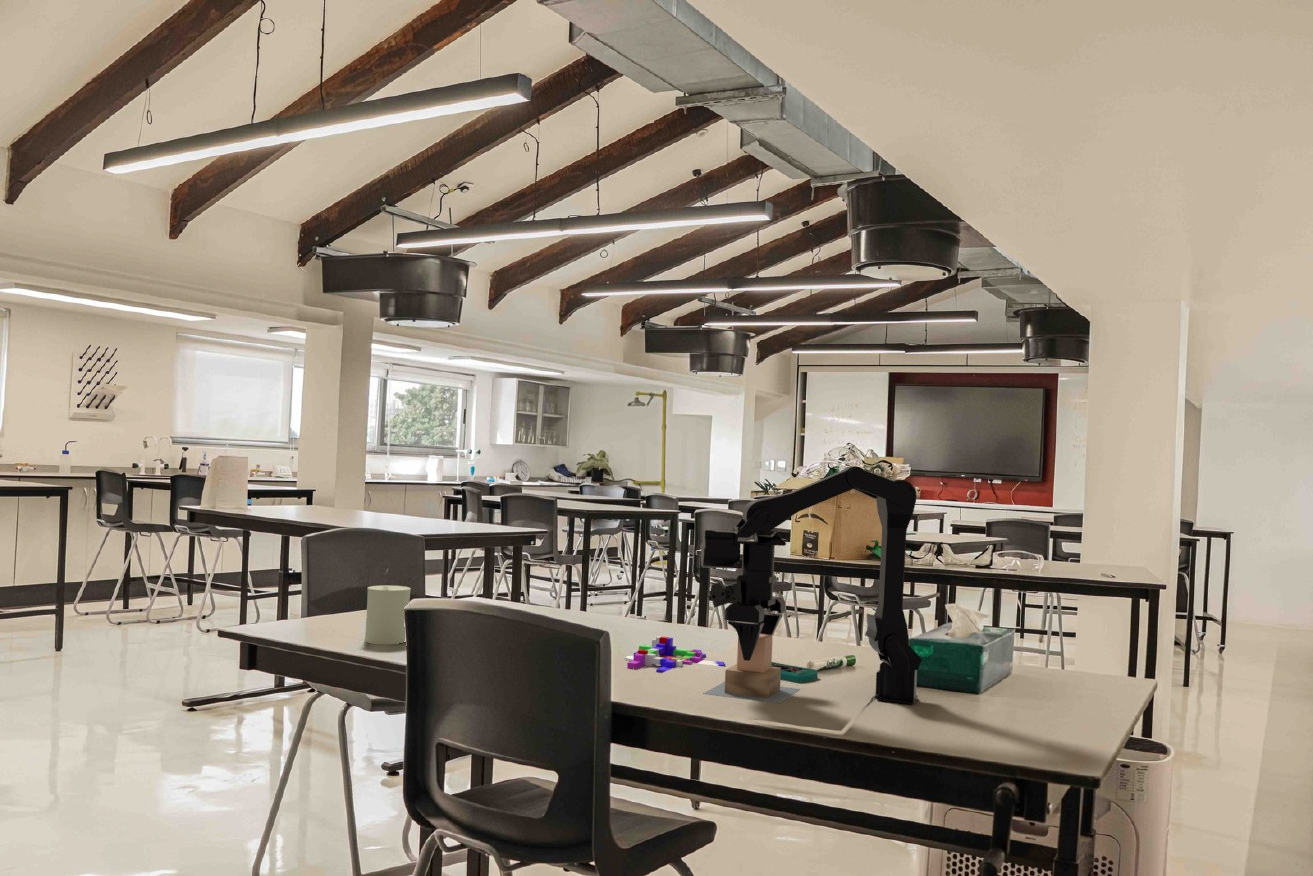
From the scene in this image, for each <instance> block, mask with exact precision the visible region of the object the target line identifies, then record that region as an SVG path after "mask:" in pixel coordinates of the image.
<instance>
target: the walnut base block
mask: <svg viewBox="0 0 1313 876" xmlns="http://www.w3.org/2000/svg"><path fill="white" fill-rule="evenodd" d="M724 676H725V677H724V682H725V693H732V694H740V695H748V696H756V697H764V698H769V697H770V696H772V695H773V694H775V693H776V692H778V691H779V690H780V687H781V679H780V678H781V668H778V667H771V669H769V670H767V671H766V672H764V673H762V672H754V671H745V670H737V663H736V664H734V665H732V666H730V667H728V668H726V669H725V673H724Z"/></svg>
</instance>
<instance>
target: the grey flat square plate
mask: <svg viewBox="0 0 1313 876" xmlns="http://www.w3.org/2000/svg"><path fill="white" fill-rule="evenodd" d="M800 690H801V688H793V687H786V686H780V690H779V691H778V692H776V693H775V694H773V695H772V696H770V697H769V698H764V697H756V696H748V695H740V694H732V693H725V681H722V683H720V684H717V685H715V686H714V687H712V688H711V689H709V690H707V691H705V692H703V693H702V695H709V696H715V697H723V698H725V697H727V698H734V699H740V700H747V701H748V700H749V701H757V702H763V703H772V704H782V703H784V702H785V701H786V700H788V699H789V698H790V697H792V696H794V695H795V694H796V693H797V692H798V691H800Z"/></svg>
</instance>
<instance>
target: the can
mask: <svg viewBox="0 0 1313 876" xmlns="http://www.w3.org/2000/svg"><path fill="white" fill-rule="evenodd" d="M366 590H367V597H366V598H367V599H366V604H367V605H366V618H365V619H366V621H365V633H364V634H365V635H364V640H363V641H364V642H365V643H366V644H370V645H378V646H379V645H380V646H383V645H384V646H392V645H393V644H396V645H400V644H399V643H403V642H404V641H405V627H404V607H405V606H406V605H407V604H408V603H409V602H410V600H411V590H412V588H411V587H410V586H409V587H408V586H403V585H388V584H387V585H383V584H382V585H372V586H368V587H367V589H366ZM409 604H410V603H409ZM403 644H404V643H403Z"/></svg>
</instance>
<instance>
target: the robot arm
mask: <svg viewBox="0 0 1313 876" xmlns="http://www.w3.org/2000/svg"><path fill="white" fill-rule="evenodd" d="M853 490H855V491H857V492H859V493H861V494H864V495H865V496H868V497H870V498H872V499H875V501H876V508H877V514H878V517H879V521H880V526H881V546H880V564H879V584H878V600H877V601H878V602H877V603H878V604H877V606H876V609H875V612H874V614H871V613H867V614H866V622H867V623H866V624H867V627H866V631H865V634H864V635H865V636H866V637H867V638H868V643H869V645H870V647H871V648H872V649H873V650H874V651H875V652H876V653H877V655H878V659H879V660H880V661H881V663H880V664H879V670H878V671H876V675H875V695H876V700H878V701H883V702H884V701H885V702H890V703H899V704H908V705H914V704H915V702H916V701H917V700H918V697H919V695H917V683H918V681H917V680H918V670H919V668H920V665H921V663H922V658H921V656H920V655H919V654H918V653H917V652H916V651H915V650H914V649H913V648H912V647H911V646H910V638H909V630H908V623H907V620H906V615H905V613H904V607H903V604H904V589H905V588H904V587H905V585H904V583H905V571H906V570H905V568H906V567H905V565H906V564H905V563H906V547H907V545H906V544H907V531H908V528H909V525H910V523H911V520H912V518H913V515H914V511H915V507H916V503H917V490H916V488H915V486H914V485H912V483H910V481H907V480H904V479H888V478H886V477H884V476H881V475H878V474H876V473H872V472H869V471H868V470H865V469H863V468H862V467H860V466H856V465H855V466H847V467H845V468H844V469H842V470H841V471H840V470H839V471H838V472H836V473H833V474H831V475H828V476H826V477H823V478H821V479H818V480H817V481H814V482H811V483H809V484H806V485H803V486H802V487H800V488H797V489H795V490H792V491H789V492H787V493H783V494H778V495H772V496H768V497H767V496H766V497H763V498H759V499H754V500H751V501H750V502H748V503H747V504H746V505H745V507H744V508H743V511H742V518H741V519H740V520H739V522H738V523H737V524H736V525H735V526H734V528H733V529H732V530H731V531H721V530H713V529H704V531H703V537H702V546H701V548H700V566H701V568H709V569H711V568H712V569H734V566H735V565H737V564H739V563H740V559H741V557H742V559H741V560H742V563H741V573H740V574H738V576H736V583H733V584H730V585H725V584H724V583H723V582H722V581H720V582H717V583H713V584H711V587H710V590H709V591H708V593H709V595H708V600H709V601H712V605H713V608H718V607H720V606H724V605H727V604H729V605H728V606H726V608H724V620H725V621H726V622H727V624H728V625H730V626H732V628H734V630H735V631H736V632H737V633H736V634H737V636H738V637H739V641H740V646H741V650H742V655H743V659H744V660H746V661H749V660H750V659H751V657H752V654H753V652H754V649H755V646H756V644H757V641H758V638H759V636H760V634H768V635H774V633H775V632H776V629H777V628H778V625H779V623H780V621H781V620H782V618H783V616H784V615H783V613H786V601H785V600H784V598H783V597H781V596H777V595H776V596H775V595H774V582H777V575H774V573H775V572H774V571H775V551H776V550H775V546H779V547H780V546H781V547H785V546H786V545H787V542H786V541H785V540H784V539H782V537H781V536H780V534H779V532H777V531H774V532H773V533H772V534H771V535H764V534H763V533H769V532H771V531H772V530H773V529H775V528H777V527H778V526H780V525H782V524H783V523H784V522H786V521H787V520H788V519H790V518H791V517H793V516H794V515H795V514H797V513H799V512H801V511H803V510H806V509H808V508H811V507H813V506H815V505H816V506H817V505H818V504H821V503H823V502H826V501H827V500H830V499H832V498H836V497H837V496H840V495H842V494H845V493H846V492H849V491H853ZM757 533H761V534H763V535H759V534H757ZM755 534H756V535H755ZM754 535H755V536H754ZM752 536H754V539H751V540H746V539H749V538H750V537H752ZM739 538H742V539H739ZM744 538H745V540H743V539H744ZM741 545H742V556H741ZM731 602H733V603H731ZM776 612H778V613H776ZM738 637H737V638H738Z"/></svg>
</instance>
